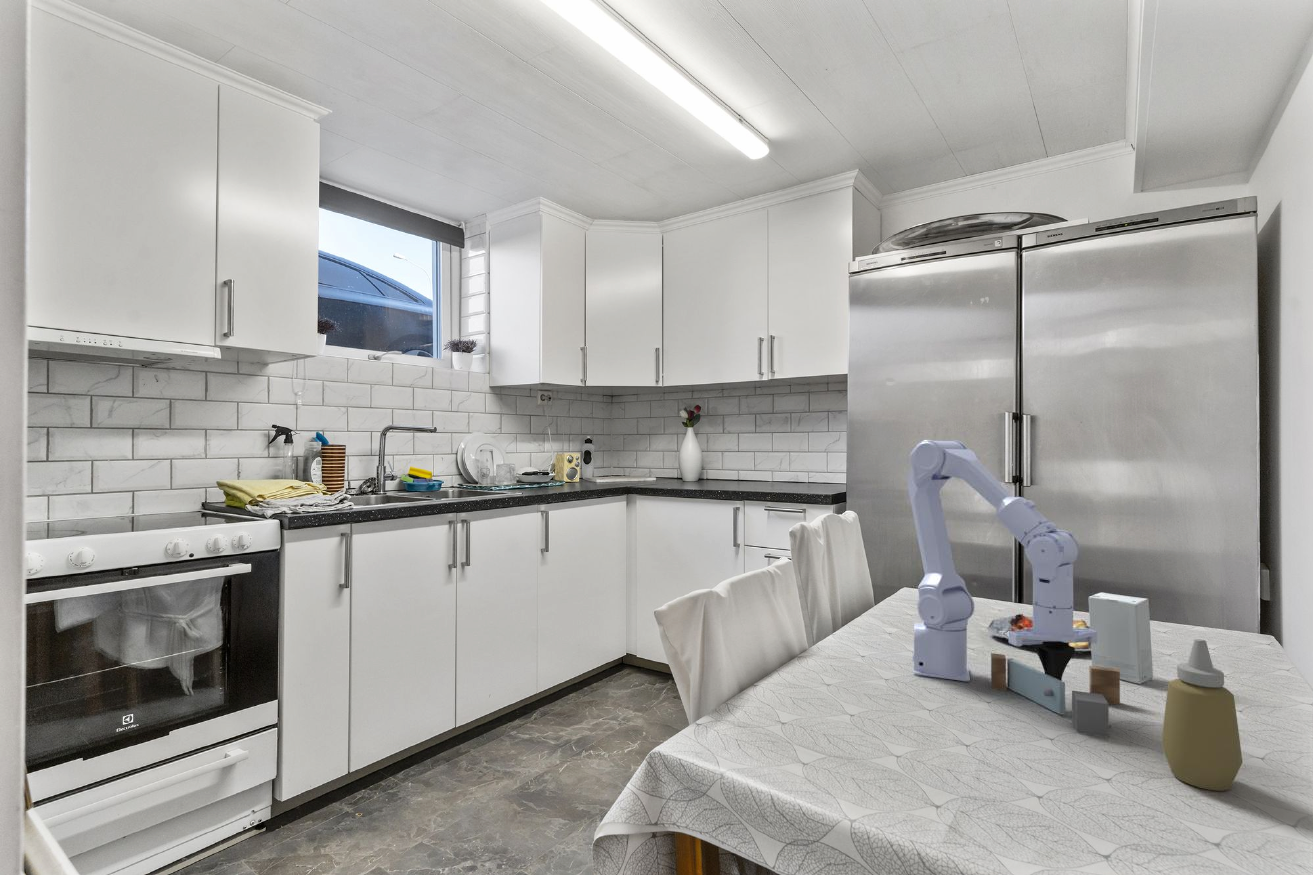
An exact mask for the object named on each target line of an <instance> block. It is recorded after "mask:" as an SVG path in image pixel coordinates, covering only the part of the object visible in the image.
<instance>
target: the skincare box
mask: <svg viewBox="0 0 1313 875" xmlns="http://www.w3.org/2000/svg"><path fill="white" fill-rule="evenodd" d="M1149 604H1150V601H1149V598H1144V597H1136V596H1128V595H1122V594H1121V595H1120V594H1115V593H1114V594H1113V593H1107V592H1103V591H1102V592H1098V593H1095V594H1092V595H1091V596H1088V615H1089V627H1090V629H1091V630H1094V631H1097V643H1091V651H1090V653H1091V666H1097V667H1105V668H1114V669H1118V670H1119V671H1120V680H1122V681H1126V682H1130V683H1134V684H1139V685H1142V684H1143V683H1145V682H1148V681H1151V680H1153V676H1154V669H1153V652H1152V636H1151V635H1152V634H1151V621H1150V620H1151V618H1150V605H1149Z"/></svg>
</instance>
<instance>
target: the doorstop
mask: <svg viewBox="0 0 1313 875" xmlns="http://www.w3.org/2000/svg"><path fill="white" fill-rule="evenodd" d="M1109 704H1110V703H1108V702H1107V701H1106V699H1105V698H1104V696H1103V695H1102V694H1095V693H1090V692H1087V691H1078V690H1071V723H1072V726H1073V727H1074V729H1075V731H1076V733H1077V734H1082V735H1090V736H1096V737H1101V738H1102V737H1104V738H1110V737H1109V736H1110V735H1109V732H1110V729H1109V728H1110V727H1109V726H1110V725H1109V724H1110V723H1109V722H1110V721H1109V720H1110V719H1109V716H1110V714H1109V710H1110V709H1109V706H1110V705H1109Z"/></svg>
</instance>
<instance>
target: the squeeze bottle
mask: <svg viewBox="0 0 1313 875" xmlns="http://www.w3.org/2000/svg"><path fill="white" fill-rule="evenodd" d="M1176 668H1177V671H1176V673H1177V676H1176V677H1177V678H1175V679H1173V680H1171V681H1170V682H1168V683H1167V684H1168V685H1167V690H1166V691H1167V692H1166V701H1165V707H1164V715H1163V725H1162V731H1161V732H1162V733H1161V740H1160V744H1161V747H1162V750H1163V752H1164V755H1165V757H1166V760H1167V763H1168V765H1169V768H1170V771H1171V773H1172V775H1173V776H1174V777H1175V778H1176V779H1178V780H1179V781H1181V782H1183V783H1186V784H1188V785H1191V786H1194V787H1197V788H1200V789H1204V790H1210V791H1218V792H1219V791H1220V792H1221V791H1228V790H1230V789H1231V787H1232V785H1233V783H1234V781H1235V779H1236V777H1237V775H1238V773H1239V770H1240V768H1241V766H1242V765H1243V762H1244V761H1243V754H1242V748H1241V747H1242V746H1241V739H1240V733H1239V732H1240V731H1239V725H1238V717H1237V709H1236V700H1235V695H1234V694H1233V693H1232V692H1231V691H1230V690H1229V689H1227V688H1226V687H1225V673H1224V672H1223V671H1222V670H1220V669H1218V668H1215V667H1214V666H1213V662H1212V658H1211V654H1210V651H1209V647H1208V643H1207V641H1206V640H1204V639H1200V638H1199V639H1197V638H1194V640H1193V644H1192V647H1191V650H1190V654H1189V657H1188V661H1187V662H1184V663H1183V662H1181V663H1179V664H1177V666H1176Z"/></svg>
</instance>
